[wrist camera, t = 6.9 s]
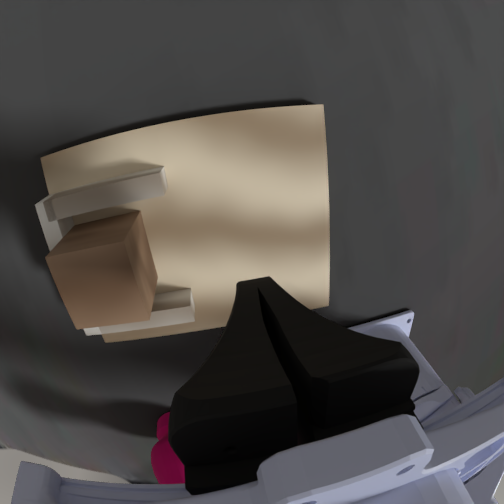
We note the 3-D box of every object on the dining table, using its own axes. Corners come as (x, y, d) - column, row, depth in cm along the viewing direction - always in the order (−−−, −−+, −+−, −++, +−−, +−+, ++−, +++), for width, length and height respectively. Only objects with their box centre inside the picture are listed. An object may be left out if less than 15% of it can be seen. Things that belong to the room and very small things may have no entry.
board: (324, 298, 23) (338, 321, 21) (108, 334, 22) (100, 361, 19) (317, 104, 17) (337, 104, 14) (47, 155, 15) (24, 163, 13)
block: (158, 277, 19) (149, 320, 15) (96, 287, 19) (76, 329, 15) (140, 210, 17) (123, 241, 13) (74, 225, 17) (45, 257, 13)
